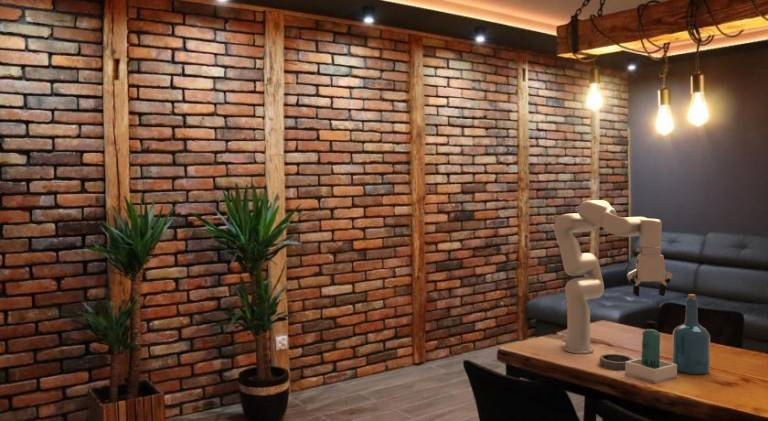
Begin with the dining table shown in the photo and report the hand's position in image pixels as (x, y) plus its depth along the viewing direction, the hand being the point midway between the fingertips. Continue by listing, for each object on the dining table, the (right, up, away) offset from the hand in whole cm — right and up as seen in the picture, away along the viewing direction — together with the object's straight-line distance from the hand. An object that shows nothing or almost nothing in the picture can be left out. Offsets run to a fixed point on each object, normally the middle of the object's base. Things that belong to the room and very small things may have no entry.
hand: (649, 295), depth 247 cm
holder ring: (-8, -30, +13) cm, 34 cm away
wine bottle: (+19, -30, +6) cm, 36 cm away
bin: (0, -31, -1) cm, 31 cm away
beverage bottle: (0, -30, 0) cm, 30 cm away
